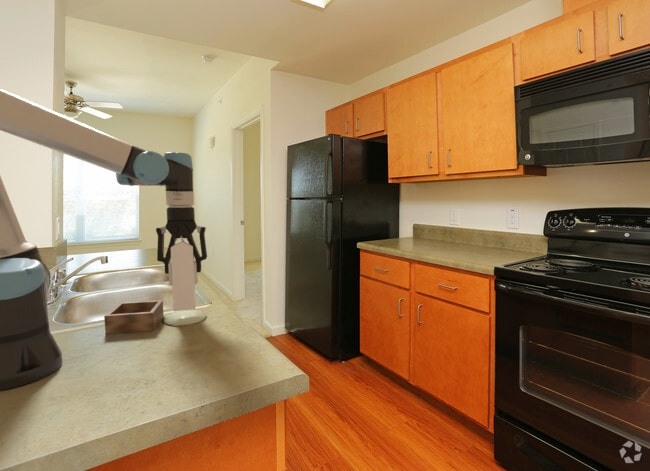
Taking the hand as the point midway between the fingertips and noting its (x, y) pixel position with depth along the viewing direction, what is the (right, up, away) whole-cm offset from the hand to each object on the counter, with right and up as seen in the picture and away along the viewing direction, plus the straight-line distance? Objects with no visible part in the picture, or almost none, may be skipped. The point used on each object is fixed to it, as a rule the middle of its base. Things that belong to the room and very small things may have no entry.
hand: (184, 283), depth 104 cm
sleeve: (-12, -11, -4) cm, 17 cm away
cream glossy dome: (0, -11, +1) cm, 11 cm away
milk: (0, -8, +1) cm, 8 cm away
